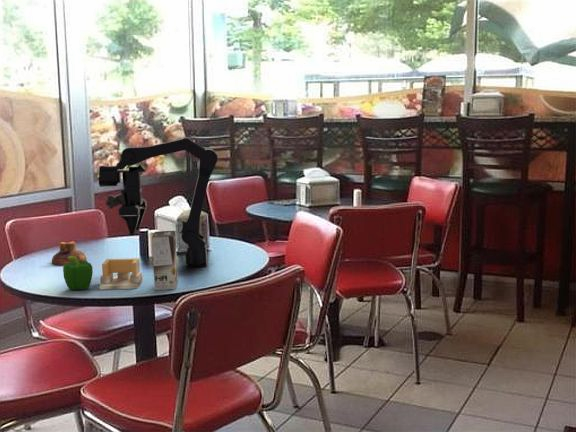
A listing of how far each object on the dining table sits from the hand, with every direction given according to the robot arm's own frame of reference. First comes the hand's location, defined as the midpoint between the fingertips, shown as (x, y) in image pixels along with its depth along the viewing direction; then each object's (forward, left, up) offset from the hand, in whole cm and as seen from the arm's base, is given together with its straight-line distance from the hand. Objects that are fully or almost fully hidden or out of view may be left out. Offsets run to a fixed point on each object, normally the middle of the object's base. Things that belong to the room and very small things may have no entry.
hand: (134, 232), depth 234 cm
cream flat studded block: (+1, +20, -12) cm, 23 cm away
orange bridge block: (+1, +20, -9) cm, 22 cm away
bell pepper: (+13, +24, -12) cm, 30 cm away
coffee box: (-13, +24, -12) cm, 30 cm away
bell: (+26, -13, -12) cm, 31 cm away
